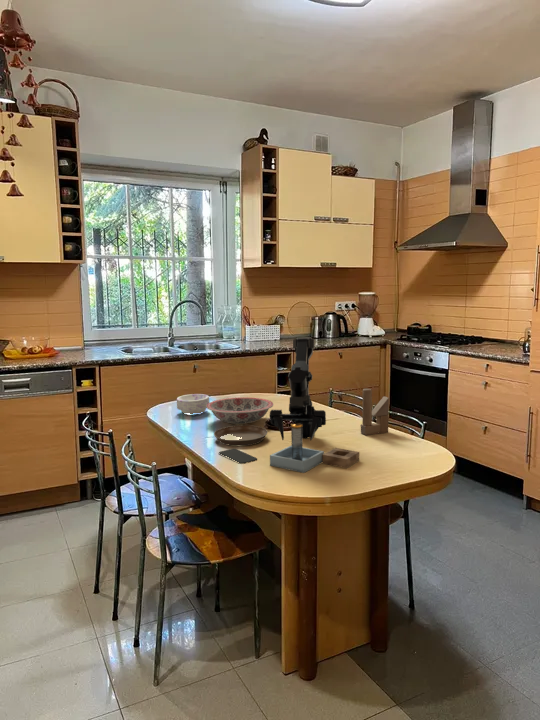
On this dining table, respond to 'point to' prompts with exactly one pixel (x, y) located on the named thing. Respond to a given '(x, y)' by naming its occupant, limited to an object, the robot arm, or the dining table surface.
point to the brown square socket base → (340, 457)
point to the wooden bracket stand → (374, 414)
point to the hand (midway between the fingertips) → (296, 439)
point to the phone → (238, 455)
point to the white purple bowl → (192, 403)
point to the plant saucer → (242, 434)
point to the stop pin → (297, 441)
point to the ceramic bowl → (239, 409)
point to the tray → (285, 460)
